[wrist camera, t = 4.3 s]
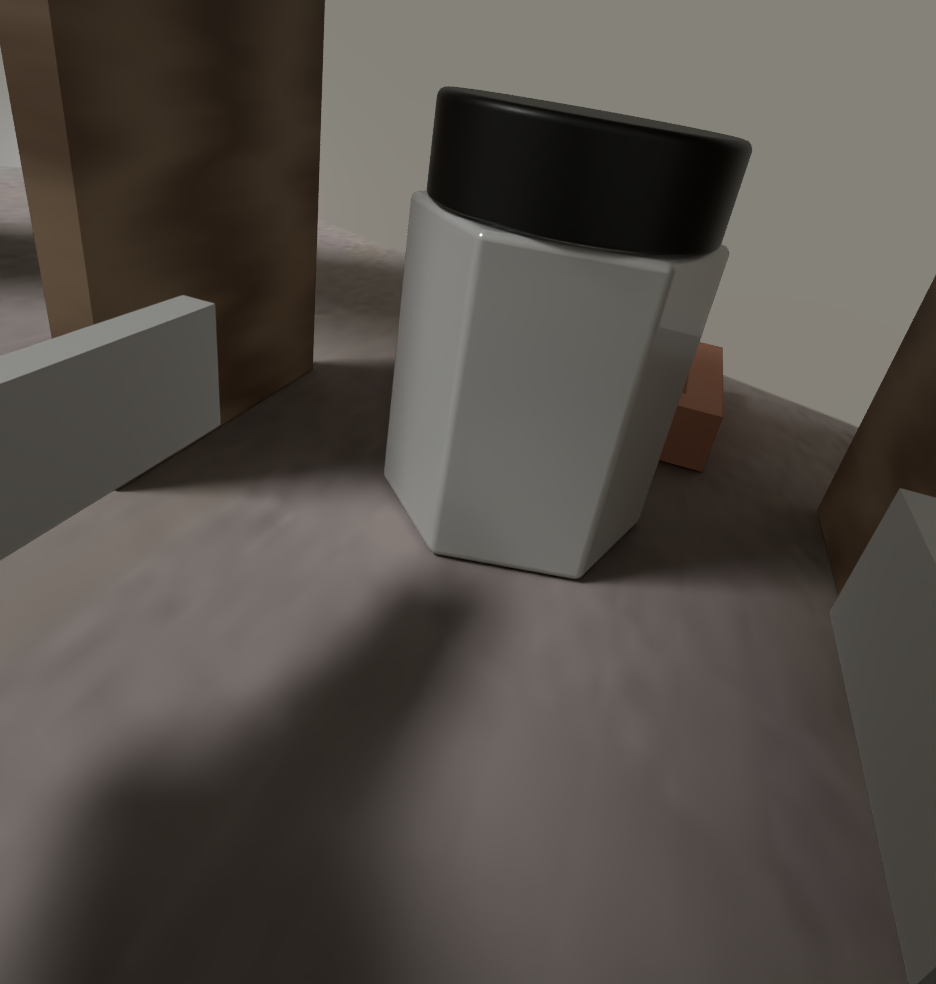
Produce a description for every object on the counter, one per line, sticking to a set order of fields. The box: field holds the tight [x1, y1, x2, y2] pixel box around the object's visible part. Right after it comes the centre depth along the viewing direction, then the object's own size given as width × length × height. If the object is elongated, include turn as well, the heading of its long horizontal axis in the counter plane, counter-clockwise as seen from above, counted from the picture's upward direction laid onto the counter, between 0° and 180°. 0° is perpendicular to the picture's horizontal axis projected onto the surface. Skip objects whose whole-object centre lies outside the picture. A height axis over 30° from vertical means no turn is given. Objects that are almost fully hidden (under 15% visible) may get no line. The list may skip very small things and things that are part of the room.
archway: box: [0, 0, 936, 596], centre depth 19 cm, size 12×25×20 cm, turn 72°
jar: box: [384, 87, 752, 579], centre depth 21 cm, size 9×8×12 cm
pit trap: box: [659, 342, 723, 472], centre depth 32 cm, size 10×13×2 cm
